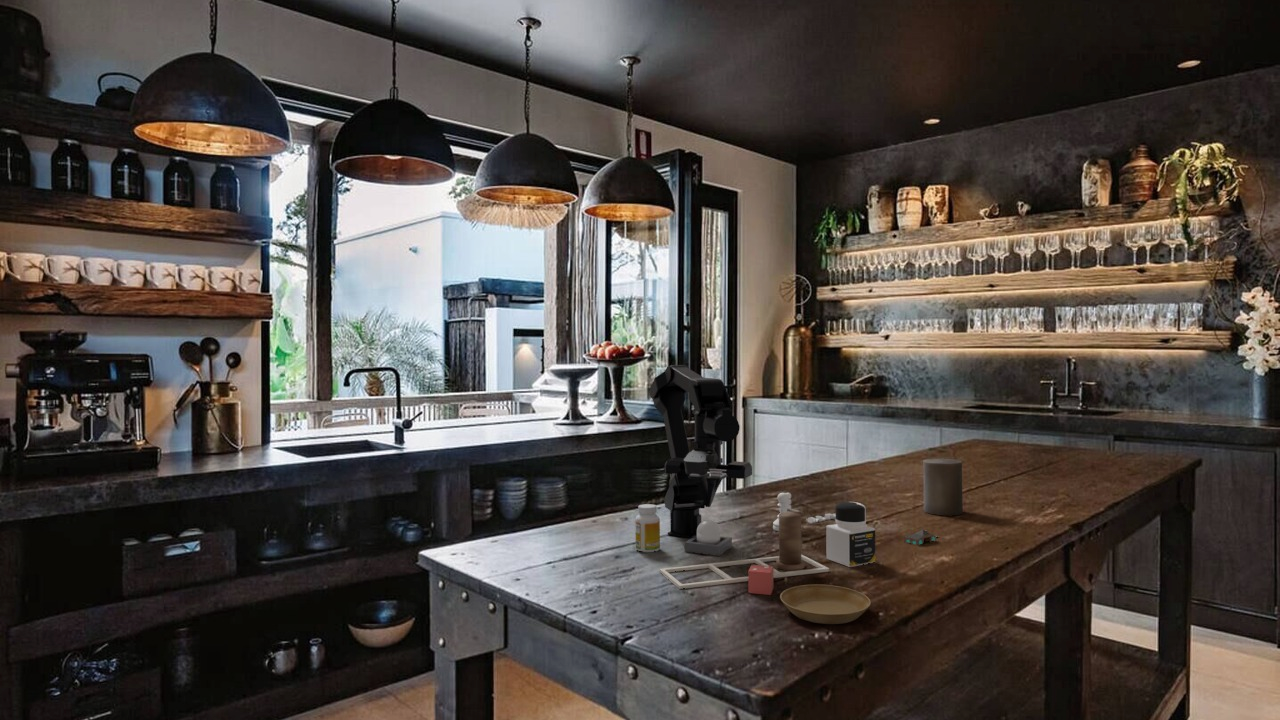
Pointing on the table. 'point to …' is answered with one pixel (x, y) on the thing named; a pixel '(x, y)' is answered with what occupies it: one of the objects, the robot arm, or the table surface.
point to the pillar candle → (943, 486)
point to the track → (741, 579)
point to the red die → (760, 579)
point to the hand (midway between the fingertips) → (708, 506)
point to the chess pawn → (781, 508)
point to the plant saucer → (825, 603)
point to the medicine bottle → (850, 536)
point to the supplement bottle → (647, 529)
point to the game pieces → (913, 539)
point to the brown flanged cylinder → (790, 542)
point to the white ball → (708, 532)
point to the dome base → (708, 546)
